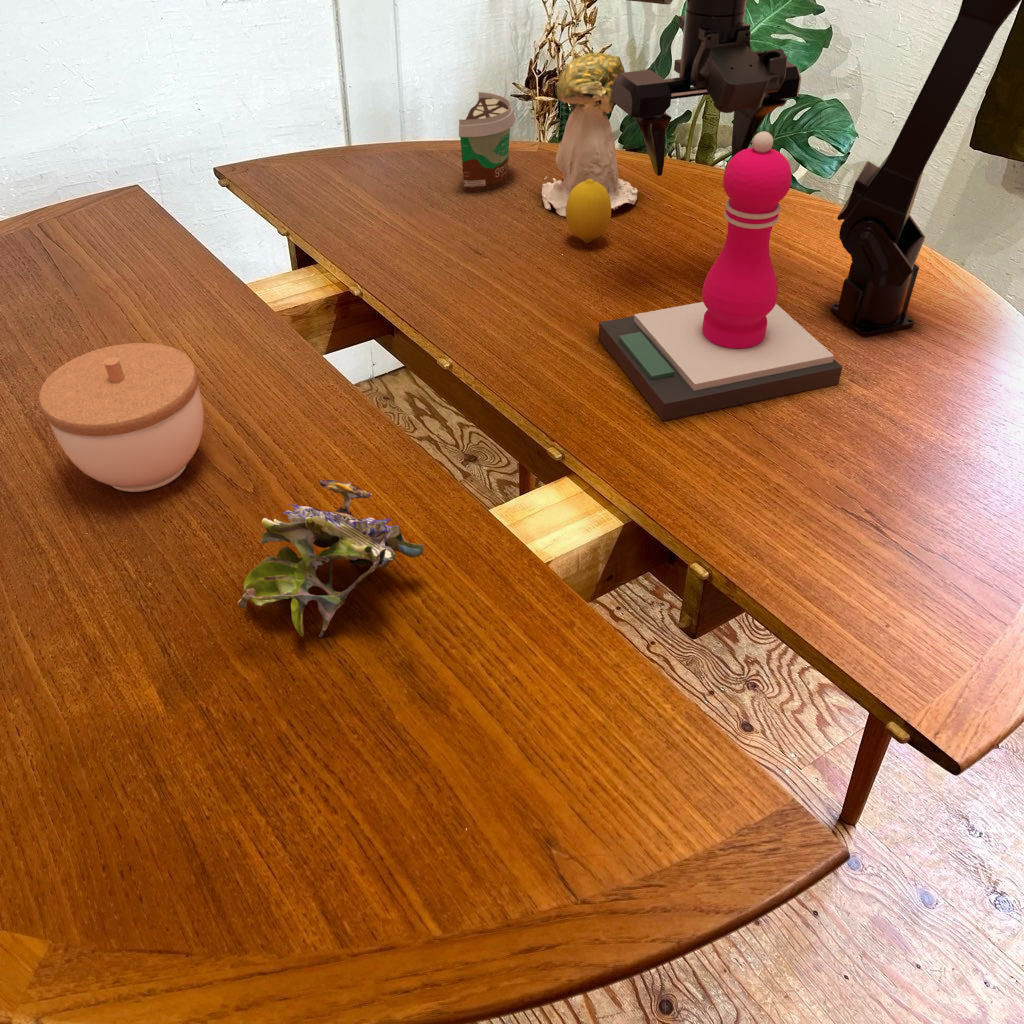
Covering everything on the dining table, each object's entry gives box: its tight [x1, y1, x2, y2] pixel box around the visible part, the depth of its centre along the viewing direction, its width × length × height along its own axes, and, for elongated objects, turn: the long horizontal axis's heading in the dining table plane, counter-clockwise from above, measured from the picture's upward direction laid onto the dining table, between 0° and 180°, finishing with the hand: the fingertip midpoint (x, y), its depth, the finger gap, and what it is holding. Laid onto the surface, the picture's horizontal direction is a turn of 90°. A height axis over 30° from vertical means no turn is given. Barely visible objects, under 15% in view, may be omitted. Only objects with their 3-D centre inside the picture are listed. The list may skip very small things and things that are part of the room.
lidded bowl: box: [38, 342, 205, 493], centre depth 82 cm, size 13×13×11 cm
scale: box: [598, 301, 843, 422], centre depth 97 cm, size 19×16×3 cm
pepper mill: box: [701, 130, 793, 349], centre depth 90 cm, size 7×7×20 cm
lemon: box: [565, 179, 612, 244], centre depth 117 cm, size 6×6×8 cm
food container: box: [458, 91, 516, 193], centre depth 132 cm, size 12×6×10 cm, turn 168°
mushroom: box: [541, 52, 639, 218], centre depth 123 cm, size 12×13×18 cm
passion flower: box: [237, 479, 425, 638], centre depth 71 cm, size 11×11×12 cm
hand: (697, 168), depth 103 cm, fingers open, 9 cm apart
